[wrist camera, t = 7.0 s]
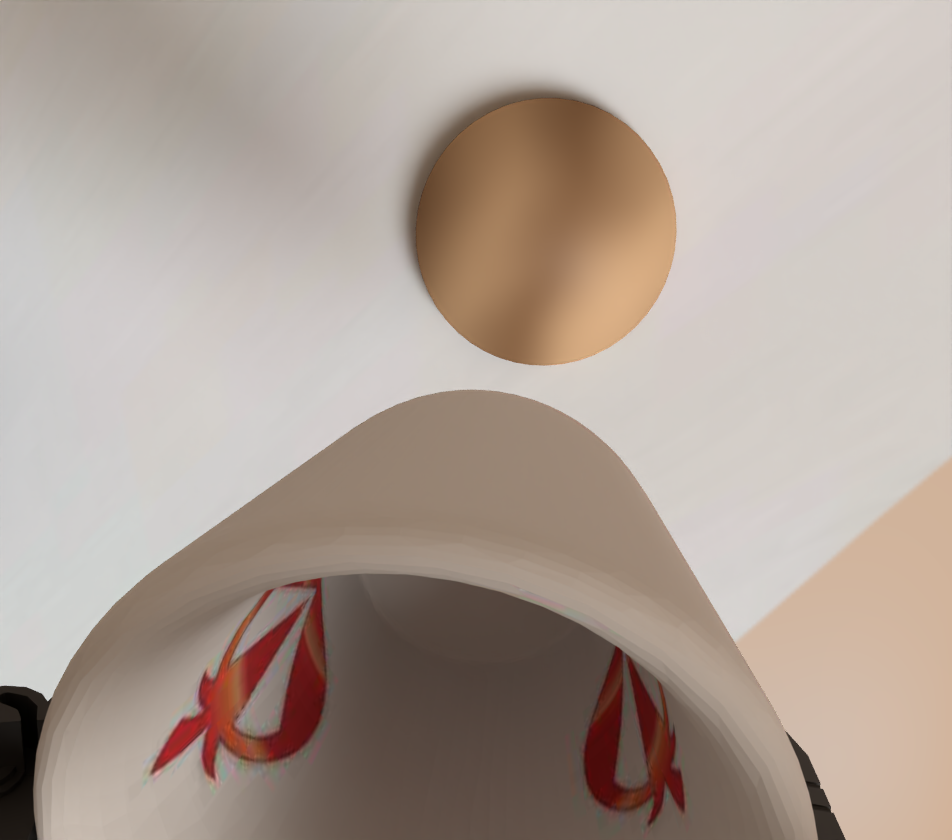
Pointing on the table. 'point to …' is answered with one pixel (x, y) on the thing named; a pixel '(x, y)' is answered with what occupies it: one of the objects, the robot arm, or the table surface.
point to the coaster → (546, 231)
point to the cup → (423, 660)
